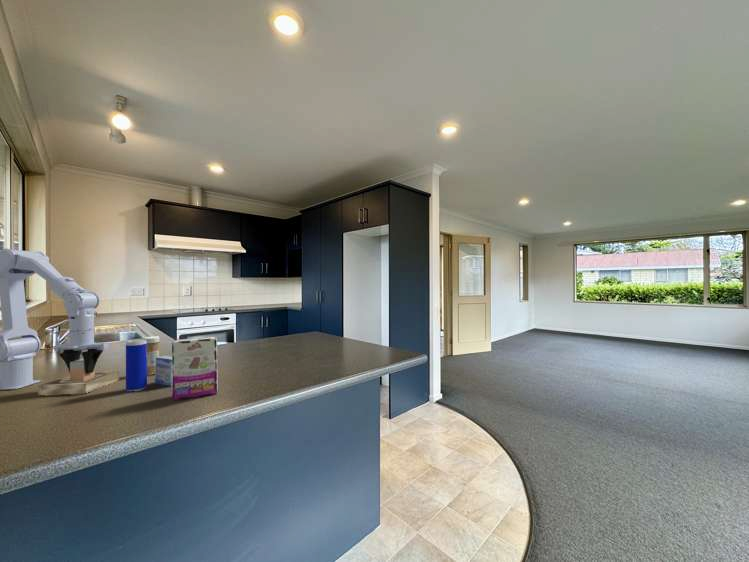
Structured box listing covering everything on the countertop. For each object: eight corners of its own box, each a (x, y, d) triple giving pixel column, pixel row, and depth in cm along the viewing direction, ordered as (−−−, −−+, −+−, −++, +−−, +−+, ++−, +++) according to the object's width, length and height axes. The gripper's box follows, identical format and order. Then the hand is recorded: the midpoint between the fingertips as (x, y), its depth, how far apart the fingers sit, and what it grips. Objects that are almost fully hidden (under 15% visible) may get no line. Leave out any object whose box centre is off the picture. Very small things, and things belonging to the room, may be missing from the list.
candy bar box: (218, 389, 93) (217, 335, 93) (217, 394, 89) (217, 338, 89) (174, 395, 88) (174, 338, 89) (171, 401, 84) (171, 341, 84)
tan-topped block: (69, 381, 94) (69, 362, 94) (81, 377, 98) (81, 359, 98) (83, 380, 94) (83, 361, 95) (94, 377, 98) (94, 358, 99)
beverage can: (150, 387, 95) (150, 339, 95) (133, 393, 90) (133, 342, 91) (139, 385, 97) (139, 338, 97) (121, 391, 92) (121, 341, 92)
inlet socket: (58, 390, 92) (58, 382, 92) (79, 382, 99) (79, 375, 99) (84, 389, 93) (84, 381, 93) (103, 382, 100) (103, 374, 100)
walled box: (38, 395, 89) (38, 385, 89) (77, 381, 102) (77, 372, 102) (86, 393, 90) (86, 383, 90) (119, 380, 103) (119, 371, 103)
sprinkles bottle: (158, 371, 113) (158, 335, 113) (159, 374, 110) (159, 337, 110) (143, 373, 110) (143, 336, 111) (144, 376, 107) (144, 338, 107)
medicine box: (154, 384, 99) (154, 357, 99) (168, 380, 103) (168, 354, 103) (171, 387, 96) (171, 359, 96) (184, 382, 100) (184, 356, 100)
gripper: (44, 332, 92) (44, 377, 91) (95, 331, 93) (95, 376, 93) (66, 329, 99) (66, 371, 98) (113, 328, 100) (113, 369, 100)
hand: (81, 373), depth 96 cm, fingers closed on tan-topped block, 4 cm apart
